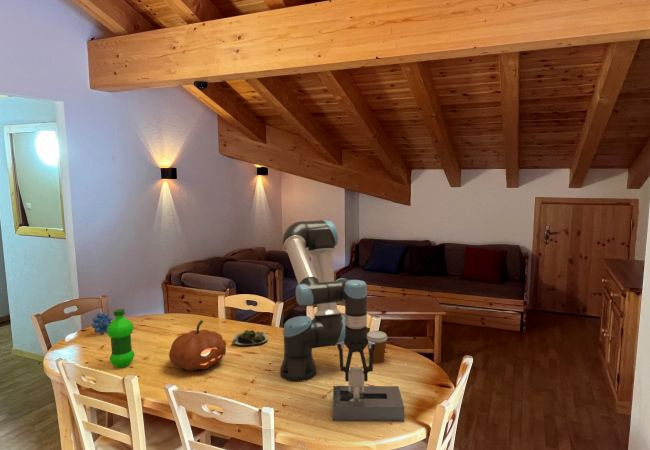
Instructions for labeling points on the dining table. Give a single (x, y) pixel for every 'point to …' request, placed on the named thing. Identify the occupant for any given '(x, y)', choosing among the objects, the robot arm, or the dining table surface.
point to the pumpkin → (197, 349)
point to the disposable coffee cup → (378, 345)
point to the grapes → (101, 323)
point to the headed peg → (356, 381)
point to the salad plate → (250, 339)
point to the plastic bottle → (120, 339)
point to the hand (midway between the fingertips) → (356, 389)
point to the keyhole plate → (368, 404)
